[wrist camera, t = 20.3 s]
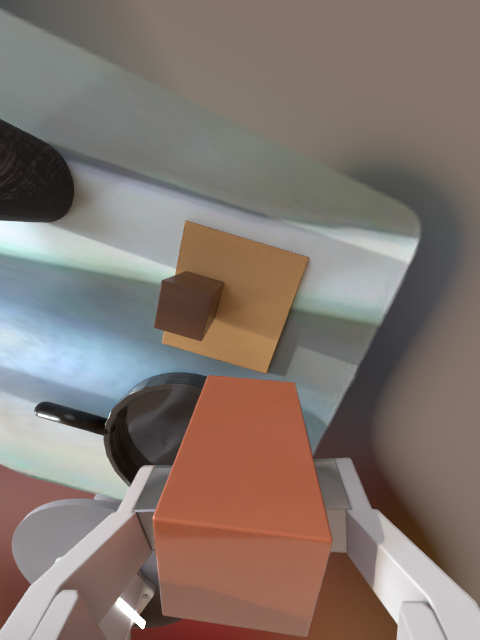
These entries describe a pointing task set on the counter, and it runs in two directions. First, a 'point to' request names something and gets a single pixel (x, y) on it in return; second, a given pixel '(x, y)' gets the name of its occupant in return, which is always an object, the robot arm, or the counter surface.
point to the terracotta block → (243, 512)
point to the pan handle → (72, 418)
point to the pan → (151, 422)
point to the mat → (240, 294)
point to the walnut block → (188, 304)
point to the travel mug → (31, 178)
